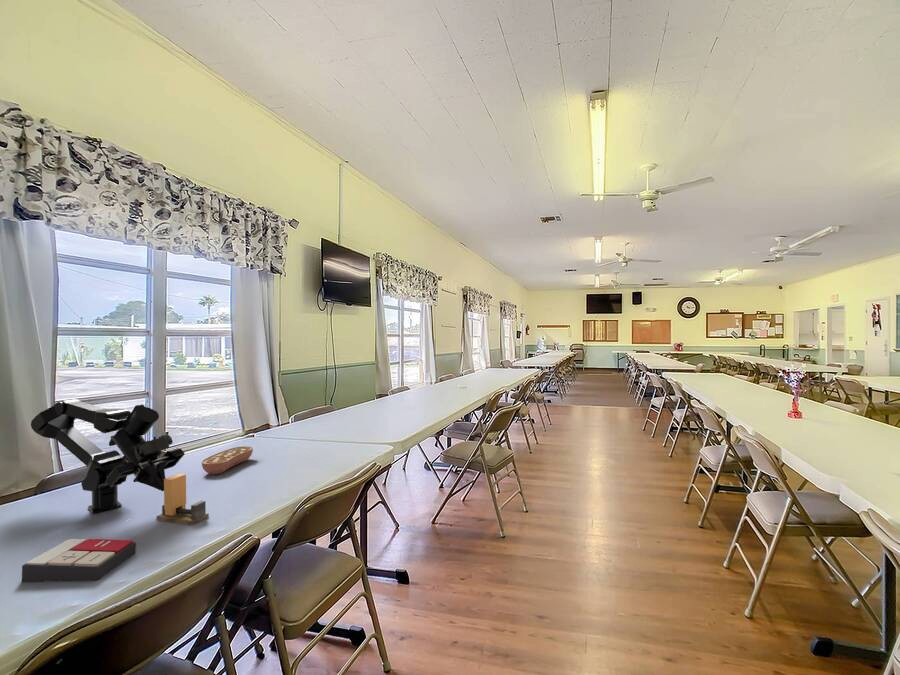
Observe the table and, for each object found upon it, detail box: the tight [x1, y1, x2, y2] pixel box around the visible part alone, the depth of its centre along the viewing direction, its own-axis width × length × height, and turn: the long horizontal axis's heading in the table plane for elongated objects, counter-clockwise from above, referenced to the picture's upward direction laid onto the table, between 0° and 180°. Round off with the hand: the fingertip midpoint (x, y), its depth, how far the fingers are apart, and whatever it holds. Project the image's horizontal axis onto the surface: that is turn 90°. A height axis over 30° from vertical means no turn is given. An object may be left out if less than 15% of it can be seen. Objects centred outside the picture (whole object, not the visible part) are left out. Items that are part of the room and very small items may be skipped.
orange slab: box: [163, 473, 187, 516], centre depth 114 cm, size 2×4×10 cm, turn 164°
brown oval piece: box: [201, 446, 254, 475], centre depth 157 cm, size 23×10×5 cm, turn 173°
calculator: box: [21, 538, 137, 583], centre depth 89 cm, size 11×4×15 cm
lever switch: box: [156, 500, 210, 526], centre depth 113 cm, size 12×5×5 cm, turn 74°
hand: (165, 489), depth 114 cm, fingers closed
